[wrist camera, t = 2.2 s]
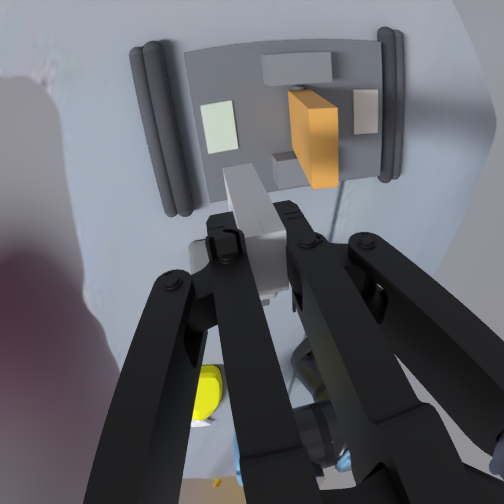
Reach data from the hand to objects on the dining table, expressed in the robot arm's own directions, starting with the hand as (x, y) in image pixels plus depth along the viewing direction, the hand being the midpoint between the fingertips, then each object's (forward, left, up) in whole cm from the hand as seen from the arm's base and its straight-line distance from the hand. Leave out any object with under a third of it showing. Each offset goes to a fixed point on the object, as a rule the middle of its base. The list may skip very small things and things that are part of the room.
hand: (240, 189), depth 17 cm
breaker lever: (0, -8, -15) cm, 17 cm away
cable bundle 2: (0, -20, -19) cm, 28 cm away
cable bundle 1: (0, +5, -19) cm, 20 cm away
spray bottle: (-52, +14, -20) cm, 57 cm away
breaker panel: (0, -8, -19) cm, 21 cm away
